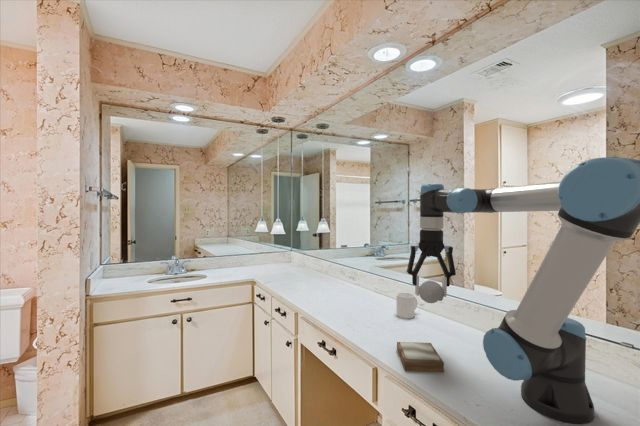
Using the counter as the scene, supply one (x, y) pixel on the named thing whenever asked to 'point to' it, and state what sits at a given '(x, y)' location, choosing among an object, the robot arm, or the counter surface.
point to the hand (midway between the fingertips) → (430, 294)
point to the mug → (406, 305)
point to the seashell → (431, 292)
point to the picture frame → (419, 357)
